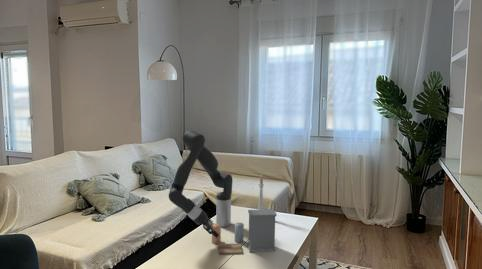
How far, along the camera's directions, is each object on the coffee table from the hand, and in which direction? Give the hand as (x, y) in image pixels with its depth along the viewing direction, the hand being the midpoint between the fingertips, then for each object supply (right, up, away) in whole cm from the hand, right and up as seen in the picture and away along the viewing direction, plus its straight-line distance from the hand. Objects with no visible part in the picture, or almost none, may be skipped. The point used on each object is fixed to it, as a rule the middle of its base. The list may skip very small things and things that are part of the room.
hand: (217, 233), depth 192 cm
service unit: (+24, -6, -6) cm, 26 cm away
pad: (+7, -6, -8) cm, 13 cm away
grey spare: (+12, -5, +2) cm, 13 cm away
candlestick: (+27, -1, +39) cm, 47 cm away
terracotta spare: (-1, -5, +1) cm, 5 cm away
